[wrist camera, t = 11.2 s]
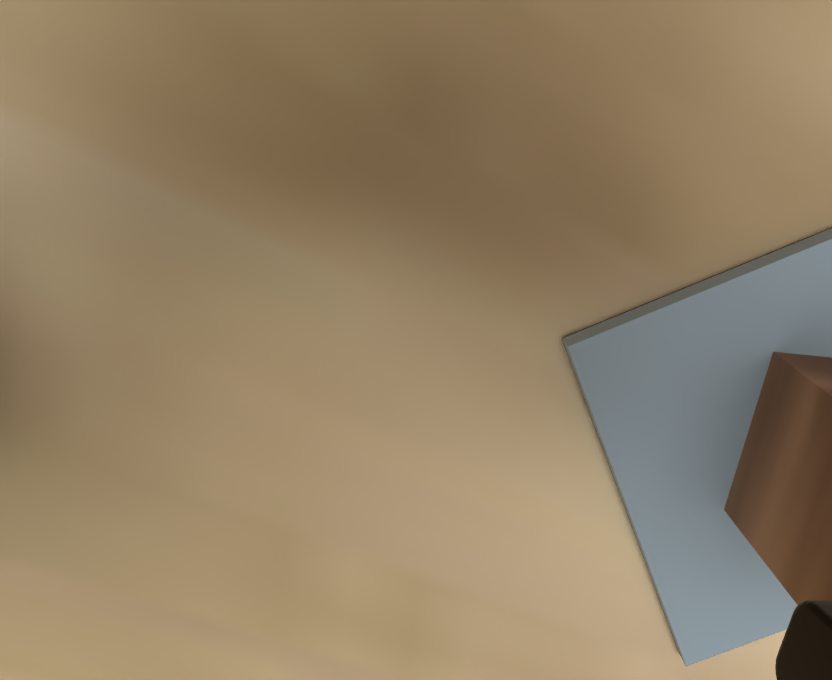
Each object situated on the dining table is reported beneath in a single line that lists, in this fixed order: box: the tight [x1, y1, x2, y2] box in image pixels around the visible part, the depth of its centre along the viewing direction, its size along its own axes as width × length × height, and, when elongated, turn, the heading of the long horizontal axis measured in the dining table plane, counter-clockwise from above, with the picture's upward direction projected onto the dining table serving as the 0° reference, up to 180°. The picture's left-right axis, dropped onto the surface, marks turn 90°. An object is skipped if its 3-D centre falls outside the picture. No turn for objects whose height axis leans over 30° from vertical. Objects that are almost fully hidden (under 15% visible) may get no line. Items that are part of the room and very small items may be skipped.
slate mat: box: [562, 228, 832, 666], centre depth 23 cm, size 12×12×1 cm
